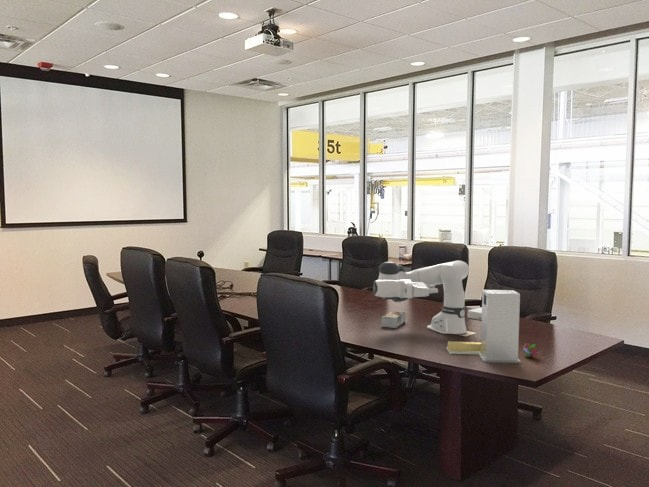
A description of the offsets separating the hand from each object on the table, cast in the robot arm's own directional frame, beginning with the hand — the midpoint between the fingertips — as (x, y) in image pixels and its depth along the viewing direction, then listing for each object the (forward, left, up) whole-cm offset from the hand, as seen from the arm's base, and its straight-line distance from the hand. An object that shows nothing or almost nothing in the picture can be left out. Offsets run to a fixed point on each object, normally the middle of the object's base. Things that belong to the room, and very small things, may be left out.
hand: (436, 289), depth 250 cm
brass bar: (+11, +11, -29) cm, 33 cm away
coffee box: (-46, +13, -27) cm, 55 cm away
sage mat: (+12, +13, -30) cm, 35 cm away
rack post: (+26, +13, -30) cm, 42 cm away
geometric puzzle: (+33, +27, -30) cm, 53 cm away
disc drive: (-30, +85, -31) cm, 95 cm away
